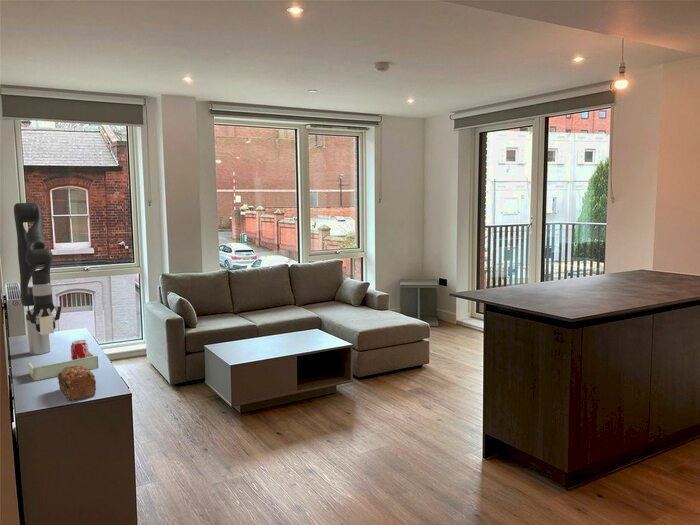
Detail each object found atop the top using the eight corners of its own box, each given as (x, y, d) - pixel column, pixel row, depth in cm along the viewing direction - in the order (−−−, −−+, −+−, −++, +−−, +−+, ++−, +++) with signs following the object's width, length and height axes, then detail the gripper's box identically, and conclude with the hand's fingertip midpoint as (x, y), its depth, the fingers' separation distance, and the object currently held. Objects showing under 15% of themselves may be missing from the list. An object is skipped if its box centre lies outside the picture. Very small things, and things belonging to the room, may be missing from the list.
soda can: (82, 370, 247) (80, 344, 245) (68, 369, 248) (66, 343, 247) (93, 365, 254) (90, 339, 252) (79, 364, 255) (77, 339, 254)
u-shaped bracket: (28, 373, 243) (27, 361, 243) (90, 361, 260) (89, 350, 259) (34, 380, 234) (33, 368, 233) (98, 367, 250) (97, 355, 249)
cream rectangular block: (38, 332, 250) (36, 316, 249) (51, 330, 253) (49, 314, 252) (41, 335, 245) (39, 318, 244) (54, 332, 249) (52, 316, 248)
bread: (97, 396, 214) (95, 371, 213) (67, 403, 208) (64, 377, 206) (86, 384, 229) (84, 360, 228) (58, 389, 222) (55, 365, 221)
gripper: (58, 290, 254) (61, 326, 257) (22, 294, 245) (26, 332, 248) (62, 292, 249) (65, 329, 251) (25, 296, 240) (29, 335, 242)
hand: (45, 330), depth 249 cm, fingers closed on cream rectangular block, 5 cm apart
